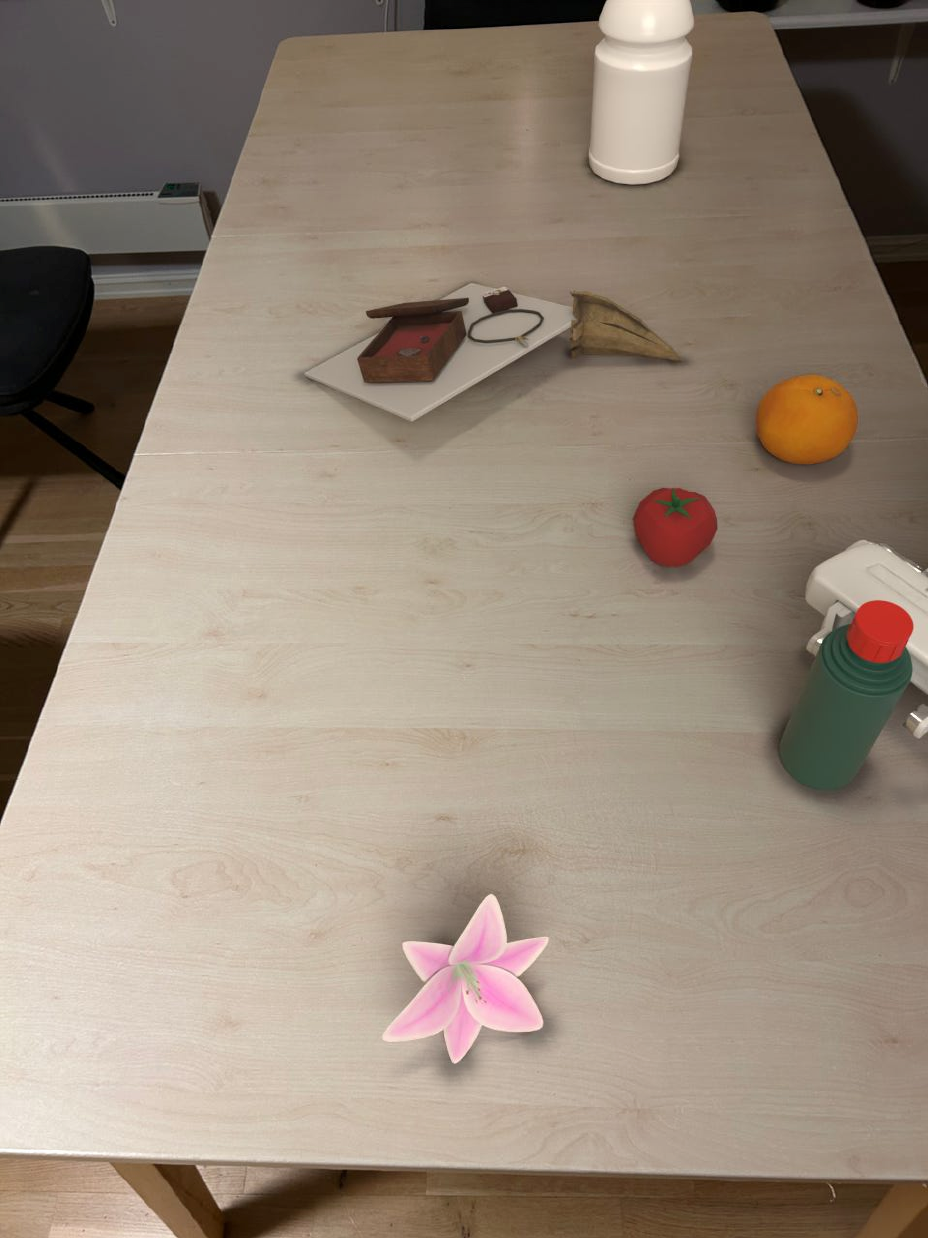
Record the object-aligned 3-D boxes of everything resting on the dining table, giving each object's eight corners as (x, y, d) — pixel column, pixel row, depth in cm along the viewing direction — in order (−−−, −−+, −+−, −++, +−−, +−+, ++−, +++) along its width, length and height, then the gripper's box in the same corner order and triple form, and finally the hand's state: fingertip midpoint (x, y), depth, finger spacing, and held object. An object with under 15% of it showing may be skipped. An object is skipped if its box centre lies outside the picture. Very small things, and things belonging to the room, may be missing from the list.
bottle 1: (578, 180, 144) (588, -32, 122) (598, 139, 152) (612, -66, 130) (669, 190, 141) (696, -25, 119) (685, 148, 149) (714, -61, 127)
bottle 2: (869, 744, 80) (944, 611, 66) (844, 803, 77) (917, 677, 63) (794, 711, 83) (851, 576, 68) (767, 768, 79) (820, 638, 65)
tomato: (666, 589, 92) (675, 538, 87) (614, 541, 96) (620, 490, 91) (726, 553, 95) (739, 502, 89) (673, 508, 99) (682, 457, 93)
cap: (909, 634, 67) (920, 613, 66) (893, 671, 65) (904, 651, 64) (856, 613, 69) (865, 592, 67) (839, 649, 67) (848, 628, 65)
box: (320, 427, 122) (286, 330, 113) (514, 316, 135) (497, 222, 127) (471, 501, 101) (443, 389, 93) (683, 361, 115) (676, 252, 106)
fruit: (859, 477, 101) (881, 418, 94) (760, 481, 101) (776, 422, 95) (834, 414, 107) (853, 356, 101) (742, 418, 107) (755, 360, 101)
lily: (365, 1054, 68) (390, 1084, 59) (377, 886, 71) (402, 889, 62) (522, 1055, 70) (569, 1083, 61) (527, 893, 74) (572, 897, 65)
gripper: (879, 508, 81) (769, 583, 76) (1103, 657, 70) (990, 755, 66) (858, 557, 86) (754, 631, 81) (1065, 703, 75) (958, 798, 71)
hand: (861, 688), depth 73 cm, fingers open, 8 cm apart
